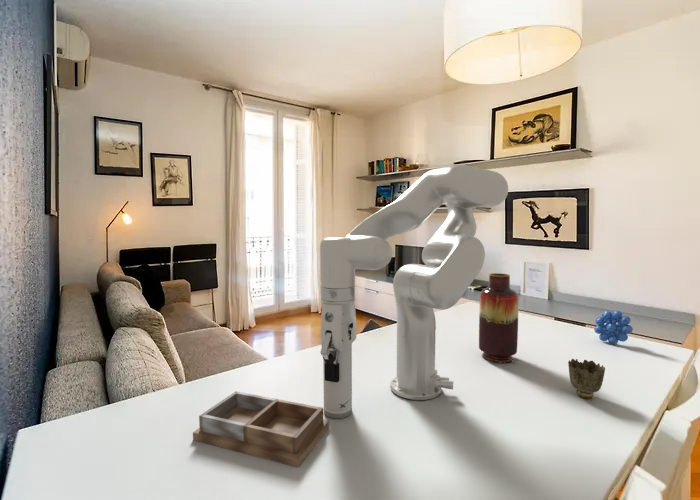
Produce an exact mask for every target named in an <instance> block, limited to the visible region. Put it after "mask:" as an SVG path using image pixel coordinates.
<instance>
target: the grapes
mask: <svg viewBox="0 0 700 500" xmlns="http://www.w3.org/2000/svg"><path fill="white" fill-rule="evenodd" d="M594 321H595V324H596V326H595V327H594V333H596V334H598V338H599V340H600V341H602V342H608V343H609V344H610V345H616V344H618V343H619V342H622V343H623V342H626V341H628V339H629V336H628V335H629V334H630V335H631V334H632V332H633V330H634V328H633V326H632V325H629V324H630V323H631V318H630V316H627V315H623V313H622V312H621V310H614V311H613V312H612V311H609V310H606V311H604V312H602V315H601V316H598V317H597V318H596V319H595V320H594Z"/></svg>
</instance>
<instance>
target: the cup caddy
mask: <svg viewBox="0 0 700 500" xmlns="http://www.w3.org/2000/svg"><path fill="white" fill-rule="evenodd" d="M198 419H199V420H198V421H199V425H198V426H199V427H198V428H197V429H195V430H194V431H192V441H196V442H200V443H204V444H207V445H211V446H214V447H215V446H216V447H219V448H222V449H227V450H231V451H234V452H238V453H242V454H247V455H250V456H253V457H258V458H261V459H265V460H268V461H269V460H270V461H273V462H275V463H276V462H277V463H281V464H285V465H288V466H291V467H297V468H299V467H300V465H301V464H302V463H304V461H305V459H306V458H307V457H308V455H309V454H311V451H312V450H313V449H314V448H315V446H317V444H318V442H319V441H320V440H321V439H322V438H323V436H324V434H325V433H326V432H327V431H328V430H329V428H330V426H329V425H330V420H327V419H324V407H321V406H317V405H311V404H305V403H299V402H295V401H291V400H290V401H288V400H284V399H278V398H274V397H273V398H272V397H269V396H262V395H257V394H252V393H246V392H241V391H234V392H233V393H231V394H230V395H228V396H226V398H224V399H222V400H221V401H219V402H217V403H216V404H215V405H214V406H211V407H210V408H209V409H207V410H205V411H204V412H203V413H201V414H199V416H198Z"/></svg>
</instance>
